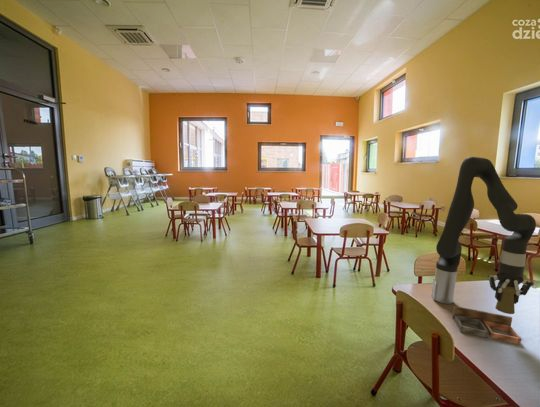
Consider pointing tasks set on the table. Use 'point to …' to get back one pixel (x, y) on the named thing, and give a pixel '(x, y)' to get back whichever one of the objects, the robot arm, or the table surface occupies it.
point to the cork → (507, 300)
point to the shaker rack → (485, 324)
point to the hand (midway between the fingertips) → (506, 301)
